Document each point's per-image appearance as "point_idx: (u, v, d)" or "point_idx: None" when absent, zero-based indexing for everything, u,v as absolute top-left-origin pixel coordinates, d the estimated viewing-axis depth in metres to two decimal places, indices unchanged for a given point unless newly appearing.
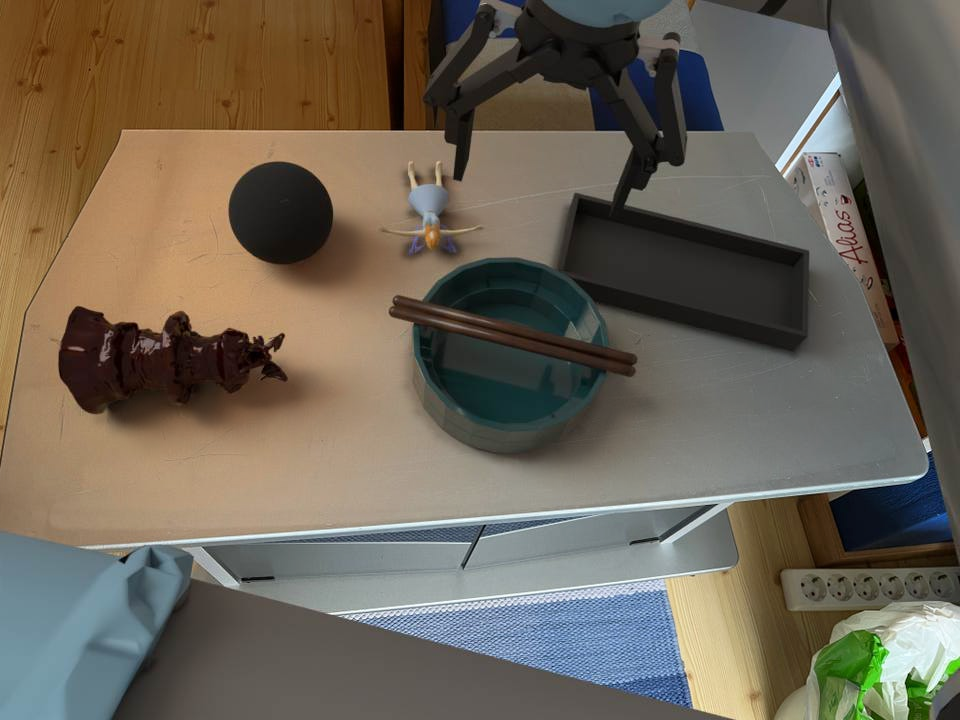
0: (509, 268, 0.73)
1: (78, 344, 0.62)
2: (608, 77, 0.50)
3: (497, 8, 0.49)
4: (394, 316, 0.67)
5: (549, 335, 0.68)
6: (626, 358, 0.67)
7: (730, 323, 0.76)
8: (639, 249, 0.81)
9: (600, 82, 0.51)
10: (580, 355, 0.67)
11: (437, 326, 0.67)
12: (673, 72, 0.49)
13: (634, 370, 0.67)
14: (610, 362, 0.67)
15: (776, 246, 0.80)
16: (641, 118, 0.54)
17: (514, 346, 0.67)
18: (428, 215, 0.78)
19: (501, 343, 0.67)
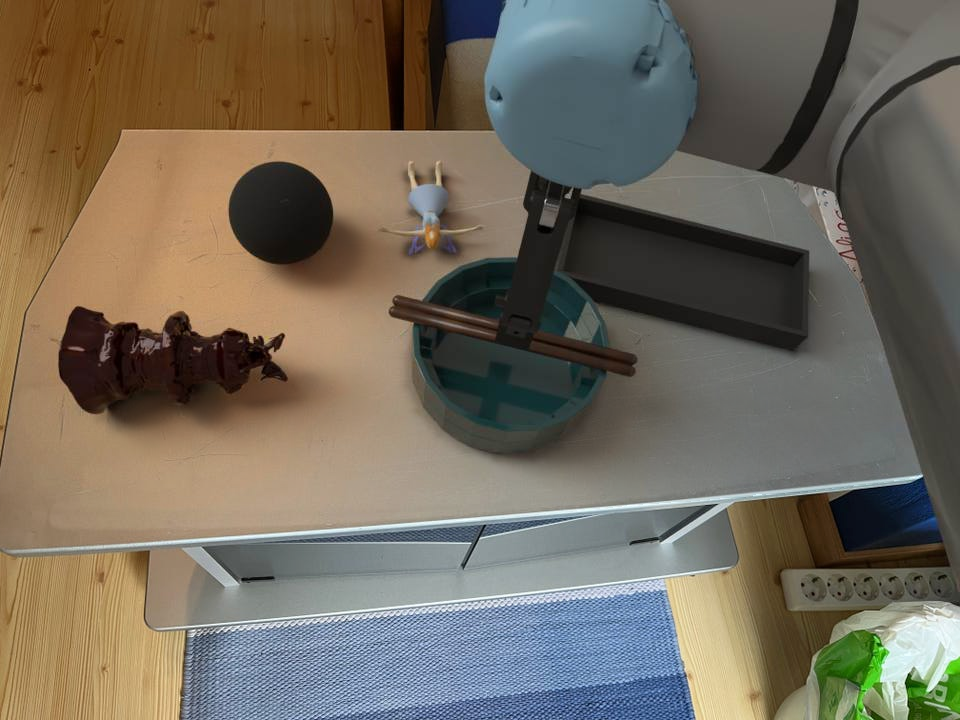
0: (509, 268, 0.73)
1: (78, 344, 0.62)
2: None
3: (559, 194, 0.44)
4: (394, 316, 0.67)
5: (549, 335, 0.68)
6: (626, 358, 0.67)
7: (730, 323, 0.76)
8: (639, 249, 0.81)
9: None
10: (580, 355, 0.67)
11: (437, 326, 0.67)
12: None
13: (634, 370, 0.67)
14: (610, 362, 0.67)
15: (776, 246, 0.80)
16: None
17: None
18: (428, 215, 0.78)
19: None
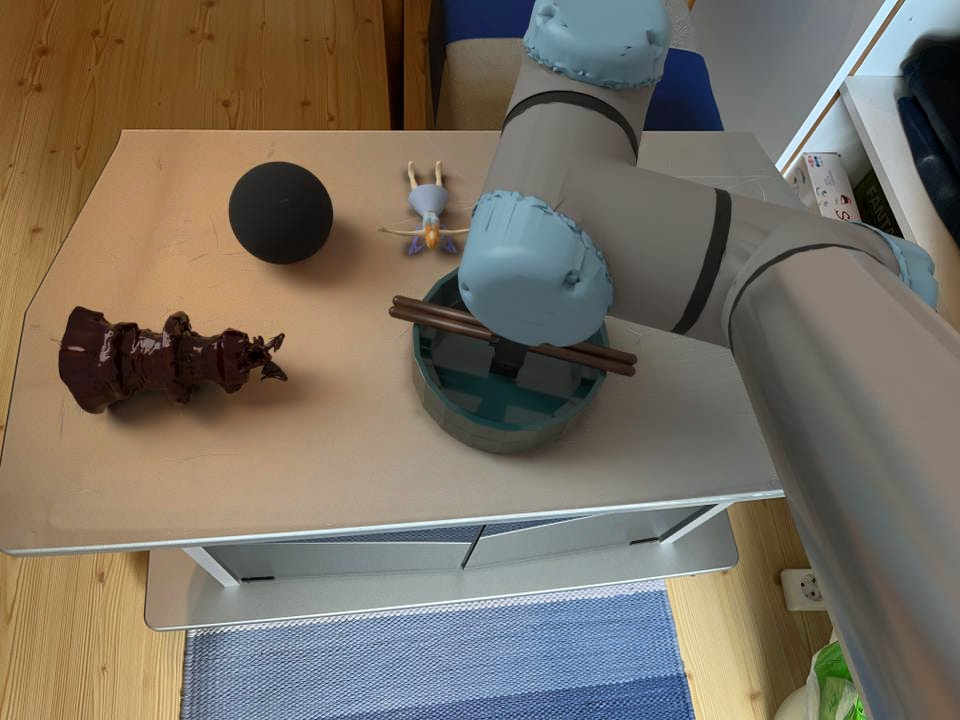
0: None
1: (78, 344, 0.62)
2: None
3: None
4: (394, 316, 0.67)
5: None
6: (626, 358, 0.67)
7: None
8: None
9: None
10: (580, 355, 0.67)
11: (437, 327, 0.67)
12: None
13: (634, 370, 0.67)
14: (610, 362, 0.67)
15: None
16: None
17: None
18: (428, 215, 0.78)
19: None
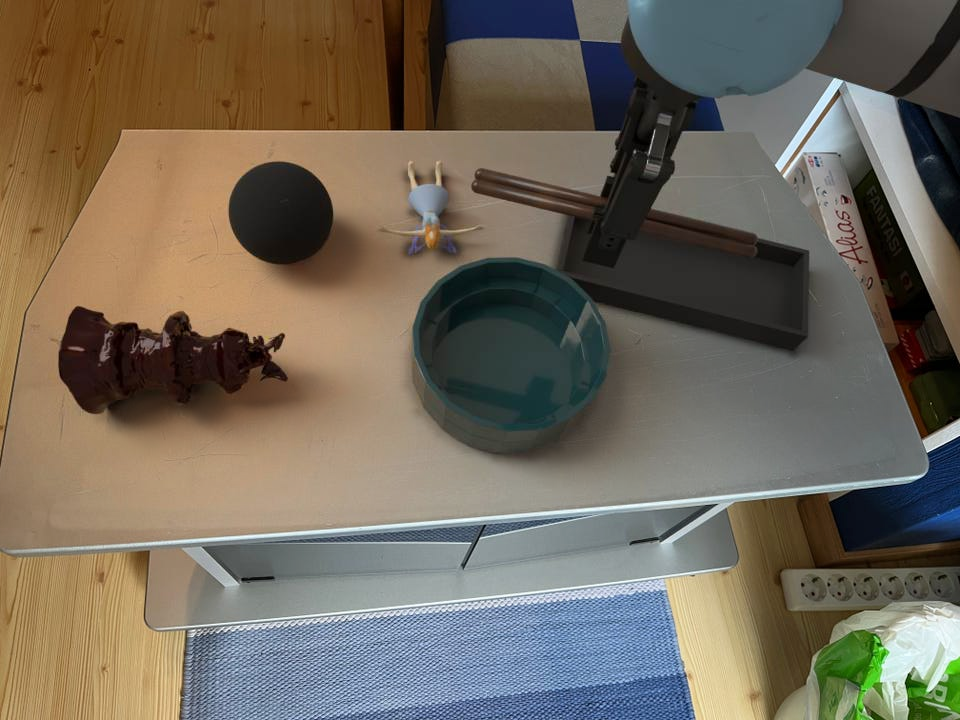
0: (509, 268, 0.73)
1: (78, 344, 0.62)
2: None
3: (661, 154, 0.45)
4: (478, 191, 0.58)
5: (657, 211, 0.59)
6: (746, 237, 0.58)
7: (730, 323, 0.76)
8: (639, 249, 0.81)
9: None
10: (693, 232, 0.58)
11: (528, 202, 0.58)
12: None
13: (756, 250, 0.58)
14: (728, 241, 0.58)
15: (776, 246, 0.80)
16: None
17: None
18: (428, 215, 0.78)
19: None
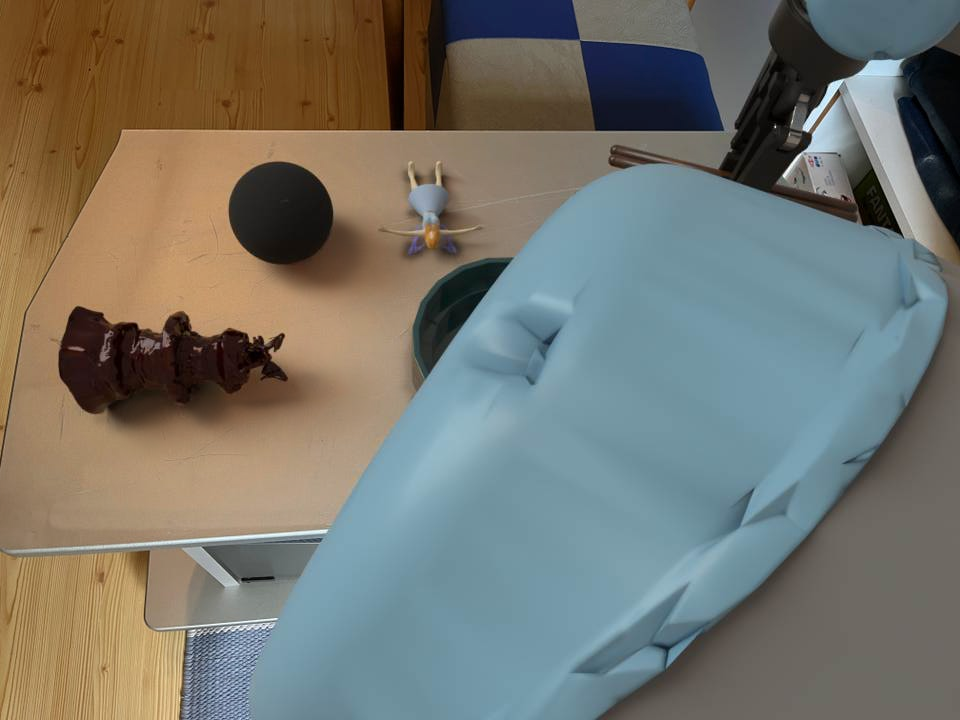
0: None
1: (78, 344, 0.62)
2: None
3: (800, 128, 0.54)
4: (615, 164, 0.67)
5: None
6: (848, 206, 0.67)
7: None
8: None
9: None
10: (802, 201, 0.67)
11: None
12: None
13: (857, 217, 0.67)
14: (833, 209, 0.67)
15: None
16: None
17: None
18: (428, 215, 0.78)
19: None
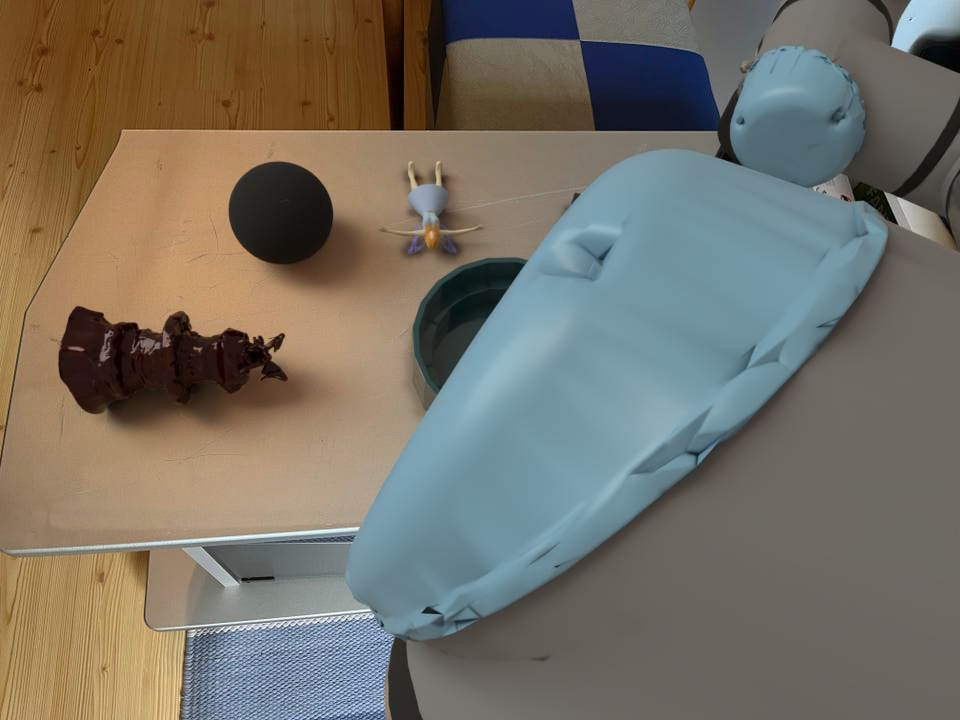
0: (509, 268, 0.73)
1: (78, 344, 0.62)
2: None
3: None
4: None
5: None
6: None
7: None
8: None
9: None
10: None
11: None
12: None
13: None
14: None
15: None
16: None
17: None
18: (428, 215, 0.78)
19: None
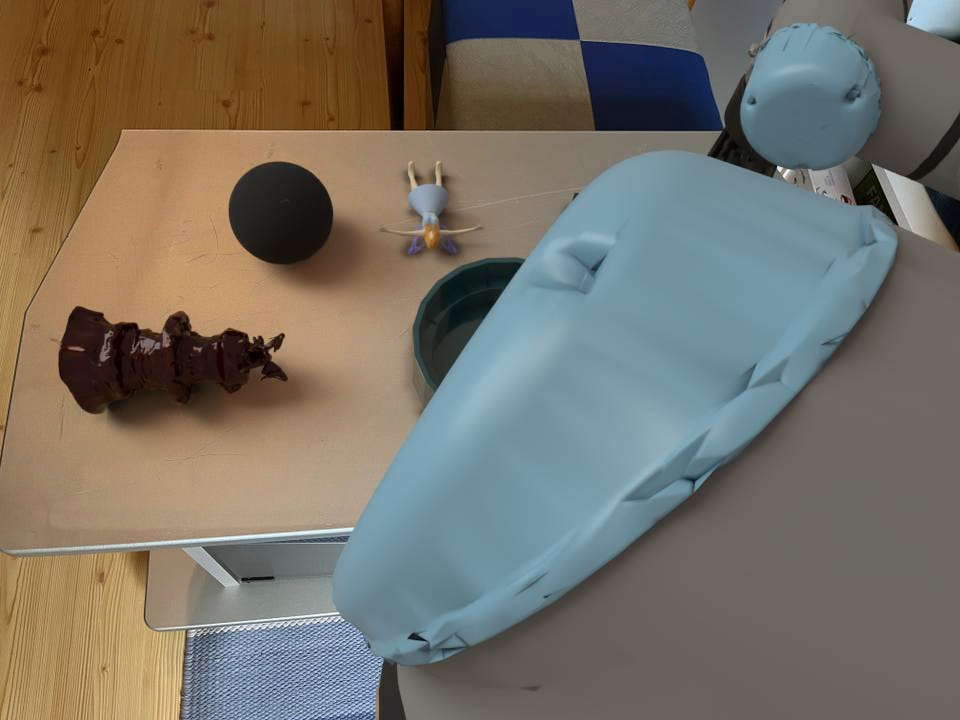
0: (509, 268, 0.73)
1: (78, 344, 0.62)
2: None
3: None
4: None
5: None
6: None
7: None
8: None
9: None
10: None
11: None
12: None
13: None
14: None
15: None
16: None
17: None
18: (428, 215, 0.78)
19: None
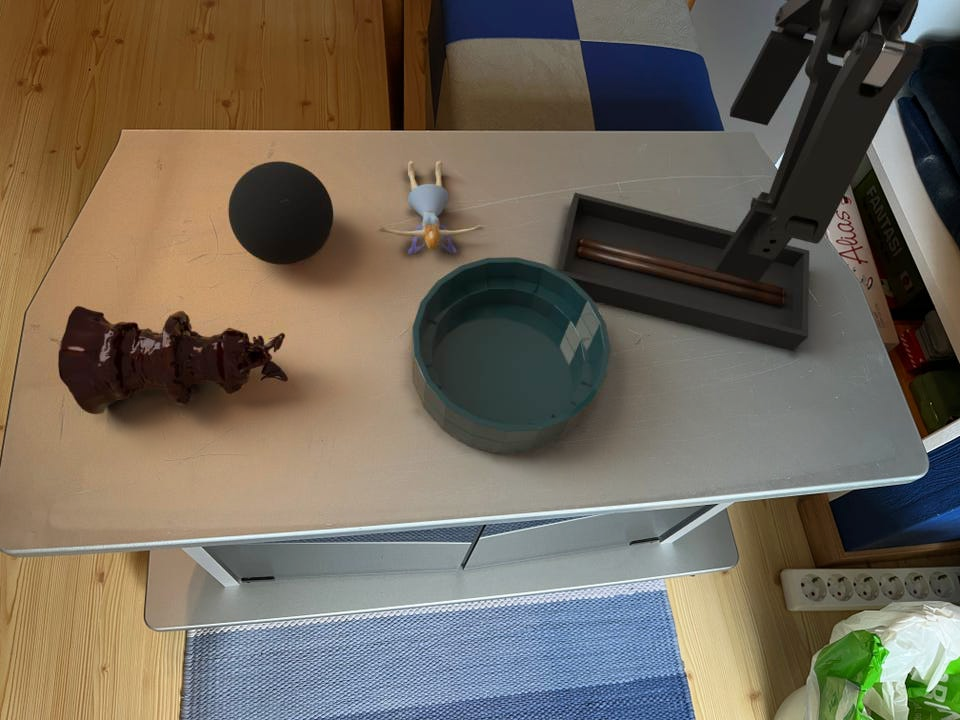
0: (509, 268, 0.73)
1: (78, 344, 0.62)
2: None
3: (898, 37, 0.32)
4: (581, 255, 0.79)
5: (712, 271, 0.80)
6: (777, 290, 0.79)
7: (730, 323, 0.76)
8: (639, 249, 0.81)
9: None
10: (739, 287, 0.79)
11: (617, 264, 0.79)
12: None
13: (785, 300, 0.79)
14: (765, 293, 0.79)
15: None
16: None
17: (683, 280, 0.79)
18: (428, 215, 0.78)
19: (672, 278, 0.79)
